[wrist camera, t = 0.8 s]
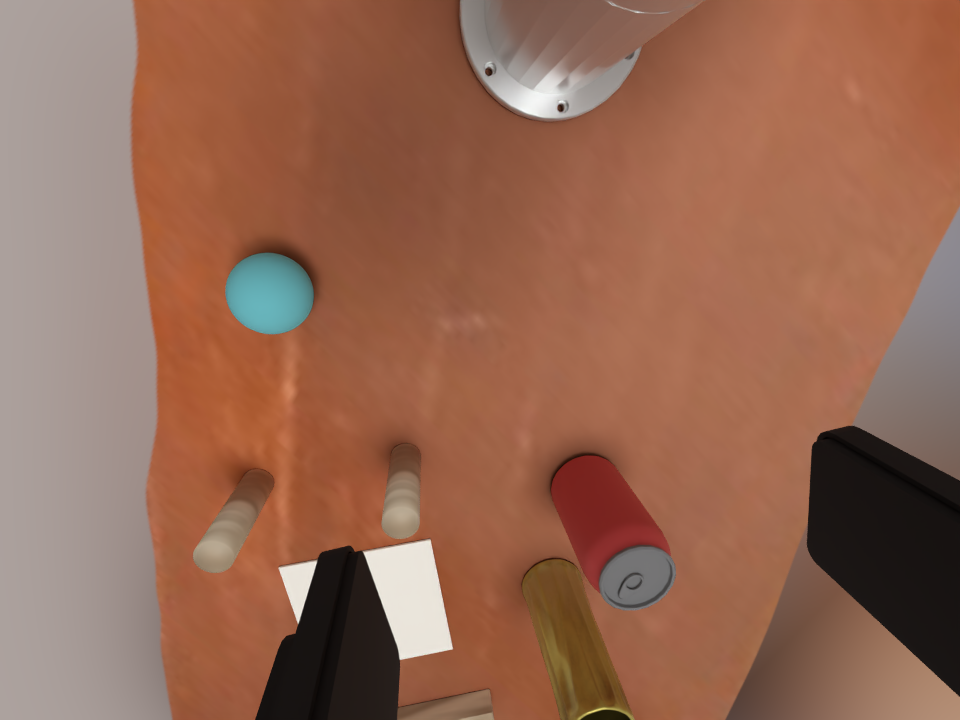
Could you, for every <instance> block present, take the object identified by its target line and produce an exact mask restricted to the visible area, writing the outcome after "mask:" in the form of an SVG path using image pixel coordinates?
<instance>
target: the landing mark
mask: <svg viewBox="0 0 960 720" xmlns="http://www.w3.org/2000/svg"><path fill="white" fill-rule="evenodd" d="M362 552H363V553H364V555H365V557H366V560H367V563H368V566H369V569H370V571H371V574H372V577H373V580H374V583H375V585H376V588H377V591H378V594H379V597H380V599H381V602H382V605H383V608H384V611H385V613H386V616H387V619H388V622H389V624H390V627H391V630H392V633H393V636H394V638H395V641H396V644H397V647H398V652H399V658H400V660H401V659H406V658H411V657H416V656H421V655H426V654H431V653H436V652H441V651H446V650H451V649H453V647H452V642H451V637H450V632H449V627H448V622H447V618H446V613H445V608H444V603H443V598H442V593H441V588H440V583H439V579H438V574H437V569H436V564H435V559H434V554H433V549H432V545H431V540H430V539H425V540H419V541H414V542H408V543H403V544H398V545H392V546H387V547H381V548H376V549H371V550H365V551H362ZM317 560H318V559H317ZM317 560H311V561H306V562H300V563H295V564H290V565H284V566H279V570H280V573H281V576H282V579H283V582H284V585H285V587H286V590H287V593H288V596H289V599H290V602H291V605H292V608H293V610H294V613H295V616H296V619H297V622H298V624H299V620H300V617H301V614H302V610H303V607H304V604H305V600H306V597H307V594H308V590H309V587H310V584H311V580H312V577H313V574H314V570H315V567H316V564H317Z"/></svg>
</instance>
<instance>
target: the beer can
mask: <svg viewBox="0 0 960 720" xmlns="http://www.w3.org/2000/svg"><path fill="white" fill-rule="evenodd" d="M551 494H552V500H553V502H554V505H555V507H556V509H557V512H558V514H559V516H560V519H561V521H562V523H563V526H564V528H565V530H566V533H567V535H568V537H569V540H570V542H571V544H572V547H573V549H574V551H575V554H576V556H577V558H578V561H579V563H580V565H581V568H582V570H583V572H584V574H585V576H586V577H587V579H588V580H589V582H590V583H591V585H592V586H593V587H594V588H595V589H596V590H597V591H598V592H599V593H600V594H601V595H602V597H603V598H604V600H605V601H606V602H607V603H608V604H610V605H611V606H613V607H614V608H618V609H621V610H639V609H643V608H647V607H649V606H651V605H653V604H655V603H657V602H658V601H659V600H660V599H662V598H663V597H664V596H665V595H666V594H667V593H668V591H669V590H670V588H671V587H672V585H673V583H674V579H675V576H676V569H675V564H674V562H673V560H672V558H671V553H670V548H669V545H668V543H667V540H666V539H665V537H664V535H663V533H662V531H661V530H660V528H659V527H658V526H657V524H656V523H655V521H654V520H653V519H652V517H651V516H650V514H649V513H648V512H647V510H646V509H645V508H644V506H643V505H642V503H641V502H640V501H639V499H638V498H637V496H636V495H635V494H634V492H633V491H632V489H631V488H630V487H629V485H628V484H627V482H626V481H625V480H624V478H623V477H622V476H621V474H620V473H619V471H618V470H617V469H616V467H615V466H614V465H613V464H612V463H610V462H609V461H608V460H607V459H604V458H601V457H598V456H587V455H586V456H582V457H578V458H574V459H573V460H571V461H569V462H567V463H566V464H564V465H563V466H562V467H561V468H560V469H559V470H558V472H557V474H556V475H555V477H554V479H553V482H552V487H551Z"/></svg>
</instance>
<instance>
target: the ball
mask: <svg viewBox="0 0 960 720" xmlns="http://www.w3.org/2000/svg"><path fill="white" fill-rule="evenodd" d="M225 293H226V300H227V303H228V306H229V308H230V310H231V312H232V313H233V315H234V316H235V317H236V318H237V320H238V321H240V322H241V323H242V324H243V325H245V326H246V327H248V328H249V329H251V330H254V331H256V332H260V333H265V334H280V333H284V332H288V331H290V330H292V329H294V328H296V327H297V326H299V325H300V324H301V323H302V322H303V321H304V320H305V319H306V318H307V316H308V315H309V313H310V311H311V309H312V306H313V300H314V290H313V286H312V283H311V280H310V278H309V276H308V274H307V273H306V272H305V270H304V269H303V268H302V267H301V266H300V265H299V264H298V263H296V262H295V261H294V260H292V259H290V258H288V257H286V256H283V255H280V254H275V253H259V254H254V255H251V256H249V257H247V258H245V259H243V260H242V261H240V262H239V263H238V264H237V265H236V266H235V267H234V268H233V270H232V271H231V273H230V274H229V276H228V279H227V283H226V292H225Z"/></svg>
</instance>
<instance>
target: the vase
mask: <svg viewBox="0 0 960 720" xmlns="http://www.w3.org/2000/svg"><path fill="white" fill-rule="evenodd" d="M522 592H523V595H524V598H525V600H526V602H527V605H528V608H529V612H530V615H531V619H532V623H533V626H534V629H535V633H536V636H537V639H538V642H539V646H540V649H541V653H542V656H543V659H544V662H545V665H546V668H547V671H548V674H549V677H550V681H551V685H552V689H553V692H554V696H555V699H556V703H557V707H558V711H559V715H560V719H561V720H634V717H633V714H632V711H631V709H630V706H629V704H628V701H627V699H626V696H625V694H624V691H623V689H622V686H621V683H620V681H619V679H618V676H617V674H616V671H615V669H614V666H613V664H612V661H611V659H610V656H609V654H608V651H607V649H606V646H605V643H604V641H603V638H602V636H601V633H600V631H599V628H598V626H597V623H596V621H595V618H594V616H593V613H592V610H591V607H590V604H589V601H588V598H587V595H586V592H585V589H584V586H583V582H582V578H581V574H580V572H579V570H578V569H577V567H576V566H575V565H573V564H572V563H570V562H568V561H565V560H561V559H551V560H546V561H543V562H541V563H539V564H537V565H535V566H534V567H533V568H531V569H530V570H529V572H528V573H527V574H526V575H525V577H524V580H523V583H522Z"/></svg>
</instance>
